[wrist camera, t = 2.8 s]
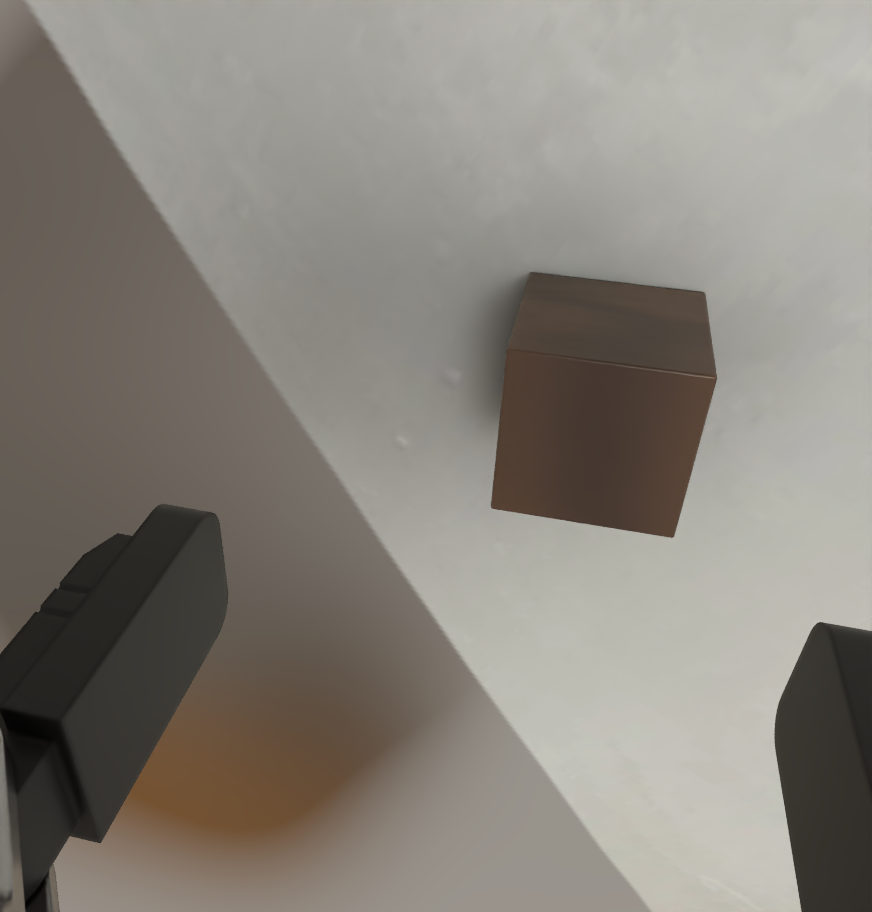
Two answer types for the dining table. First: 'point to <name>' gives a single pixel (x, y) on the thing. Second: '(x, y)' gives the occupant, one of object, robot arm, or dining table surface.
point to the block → (603, 403)
